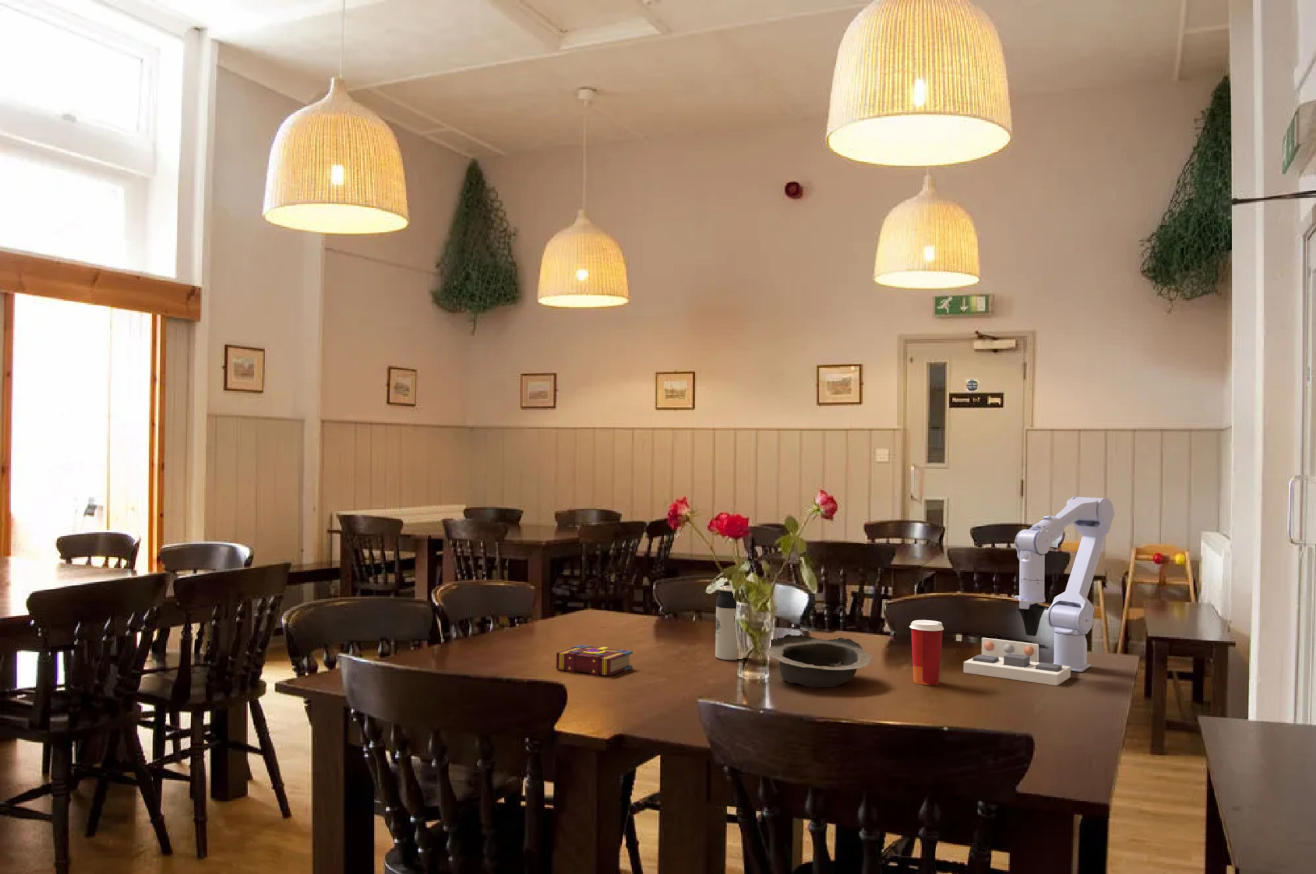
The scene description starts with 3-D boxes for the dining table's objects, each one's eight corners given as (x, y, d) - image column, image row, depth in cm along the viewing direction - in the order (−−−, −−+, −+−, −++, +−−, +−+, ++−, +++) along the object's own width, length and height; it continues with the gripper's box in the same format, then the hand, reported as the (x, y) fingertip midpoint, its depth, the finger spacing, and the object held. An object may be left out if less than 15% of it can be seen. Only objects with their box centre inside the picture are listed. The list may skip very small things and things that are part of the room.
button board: (979, 664, 260) (979, 654, 260) (1070, 677, 247) (1070, 666, 247) (963, 672, 250) (963, 662, 250) (1057, 685, 237) (1057, 674, 237)
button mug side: (979, 666, 256) (979, 654, 256) (998, 668, 253) (998, 657, 253) (972, 669, 252) (973, 657, 252) (992, 671, 249) (992, 659, 249)
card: (982, 660, 265) (983, 637, 265) (1038, 668, 256) (1038, 644, 257) (980, 661, 264) (981, 638, 264) (1036, 669, 255) (1037, 645, 255)
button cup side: (1041, 674, 247) (1041, 662, 247) (1061, 677, 244) (1061, 665, 245) (1035, 677, 243) (1035, 665, 243) (1056, 680, 241) (1056, 668, 241)
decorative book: (609, 678, 238) (610, 656, 238) (550, 670, 245) (551, 649, 245) (632, 669, 248) (632, 648, 248) (575, 662, 255) (575, 642, 255)
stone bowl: (798, 664, 255) (801, 627, 255) (889, 688, 239) (893, 648, 239) (741, 678, 236) (745, 639, 236) (836, 705, 220) (840, 662, 220)
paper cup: (947, 681, 239) (947, 621, 239) (938, 688, 233) (938, 626, 233) (914, 677, 243) (914, 618, 243) (904, 683, 237) (905, 622, 237)
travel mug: (746, 655, 266) (747, 586, 267) (746, 661, 259) (747, 590, 259) (716, 654, 267) (717, 585, 268) (714, 660, 259) (715, 589, 260)
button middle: (1009, 665, 252) (1009, 653, 252) (1029, 667, 249) (1029, 655, 249) (1003, 668, 248) (1003, 656, 248) (1023, 671, 245) (1024, 658, 245)
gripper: (1023, 575, 257) (1022, 629, 257) (1006, 580, 245) (1006, 637, 245) (1052, 577, 253) (1051, 632, 253) (1037, 583, 241) (1036, 641, 241)
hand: (1031, 635), depth 249 cm, fingers closed
